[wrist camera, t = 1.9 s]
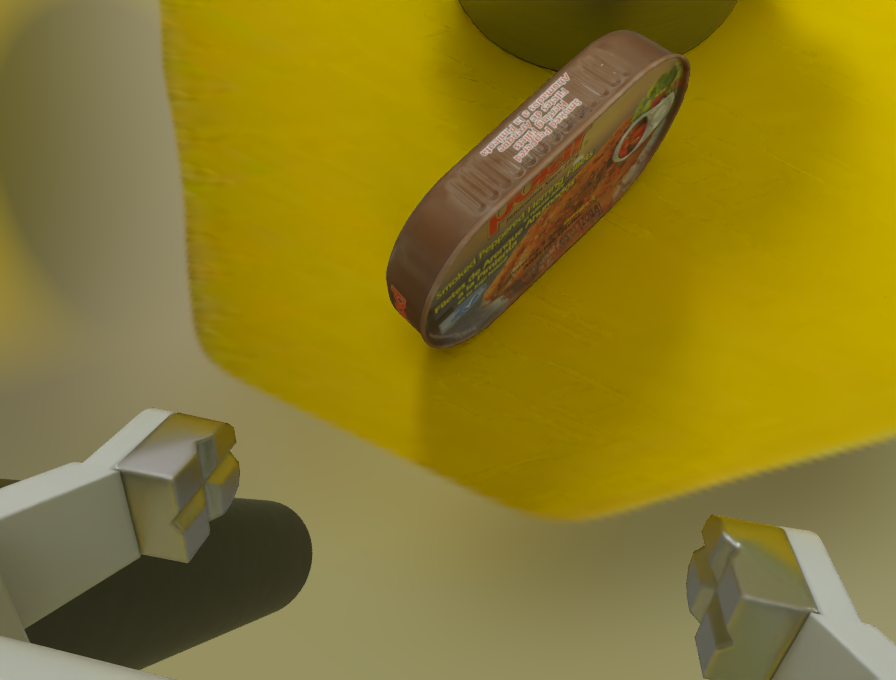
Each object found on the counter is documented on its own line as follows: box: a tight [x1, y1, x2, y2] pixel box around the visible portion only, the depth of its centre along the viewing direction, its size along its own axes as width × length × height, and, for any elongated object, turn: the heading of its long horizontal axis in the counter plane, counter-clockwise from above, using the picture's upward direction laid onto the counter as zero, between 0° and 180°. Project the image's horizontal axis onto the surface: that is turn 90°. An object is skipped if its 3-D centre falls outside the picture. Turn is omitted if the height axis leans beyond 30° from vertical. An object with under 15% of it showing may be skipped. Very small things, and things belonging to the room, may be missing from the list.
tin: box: [386, 30, 690, 348], centre depth 24 cm, size 15×3×8 cm, turn 134°
